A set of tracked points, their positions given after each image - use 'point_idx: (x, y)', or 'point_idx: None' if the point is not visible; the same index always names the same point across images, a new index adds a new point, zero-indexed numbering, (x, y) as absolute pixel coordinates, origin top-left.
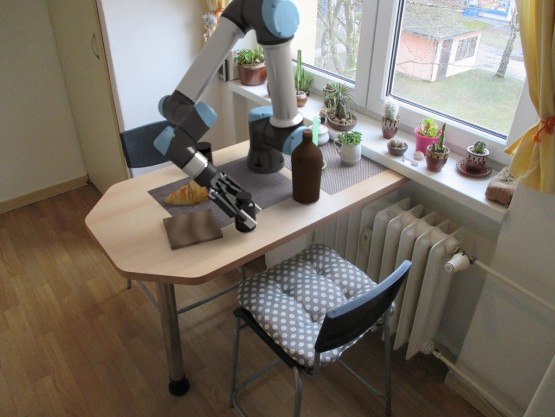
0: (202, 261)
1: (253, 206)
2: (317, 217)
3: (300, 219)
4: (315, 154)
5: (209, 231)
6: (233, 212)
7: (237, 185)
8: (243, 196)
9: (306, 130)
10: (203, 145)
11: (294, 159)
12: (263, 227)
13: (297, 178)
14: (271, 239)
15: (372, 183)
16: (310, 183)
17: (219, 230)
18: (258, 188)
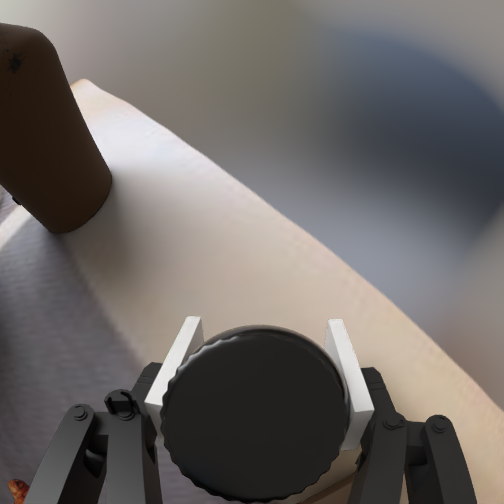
0: (479, 469)
1: (286, 330)
2: (184, 151)
3: (193, 190)
4: (31, 28)
5: None
6: (454, 435)
7: (67, 479)
8: (286, 419)
9: None
10: None
11: None
12: (256, 319)
13: (46, 141)
14: (337, 272)
15: (77, 99)
16: (79, 117)
17: (329, 502)
18: (8, 354)
